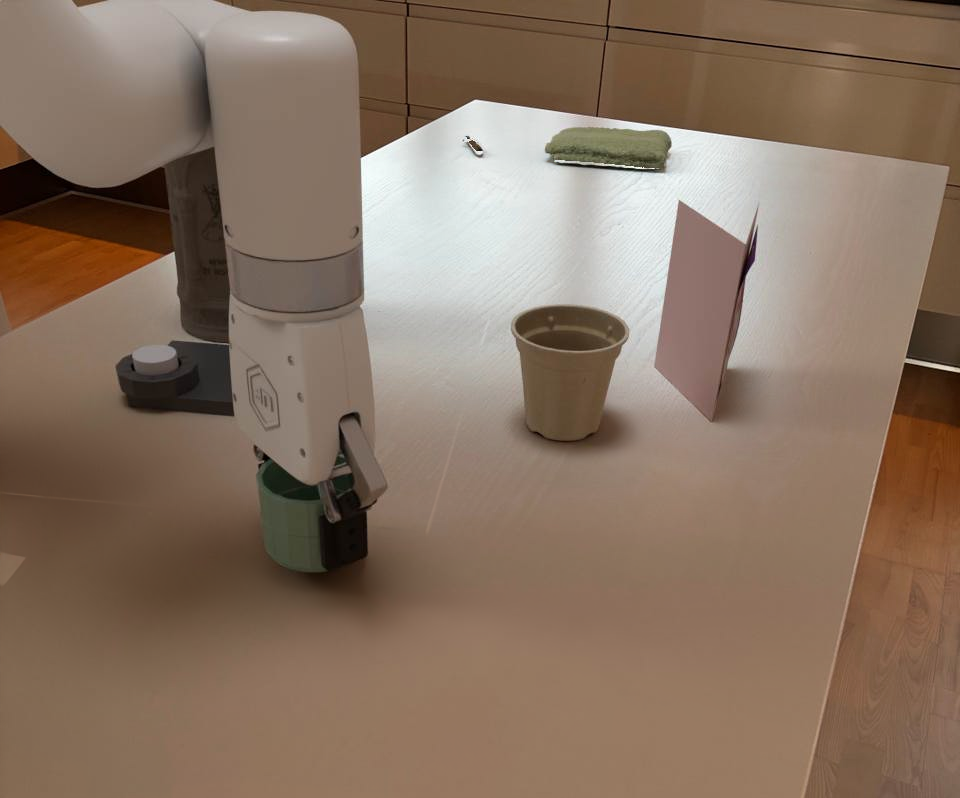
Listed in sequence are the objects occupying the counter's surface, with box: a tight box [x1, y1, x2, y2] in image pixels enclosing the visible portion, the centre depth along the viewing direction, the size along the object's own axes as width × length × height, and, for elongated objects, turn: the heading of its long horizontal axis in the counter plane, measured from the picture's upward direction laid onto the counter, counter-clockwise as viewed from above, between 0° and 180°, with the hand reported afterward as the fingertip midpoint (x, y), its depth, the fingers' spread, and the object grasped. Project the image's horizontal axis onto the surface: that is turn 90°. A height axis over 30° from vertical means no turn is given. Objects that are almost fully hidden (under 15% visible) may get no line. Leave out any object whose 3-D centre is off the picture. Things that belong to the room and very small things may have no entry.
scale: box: [115, 339, 235, 417], centre depth 89 cm, size 14×12×3 cm
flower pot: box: [510, 303, 630, 442], centre depth 84 cm, size 9×9×9 cm
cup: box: [255, 454, 351, 573], centre depth 68 cm, size 7×7×6 cm
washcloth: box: [544, 126, 673, 169], centre depth 151 cm, size 13×18×3 cm
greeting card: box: [653, 199, 760, 422], centre depth 88 cm, size 11×7×15 cm, turn 163°
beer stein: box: [163, 147, 230, 343], centre depth 96 cm, size 15×11×20 cm
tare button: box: [131, 344, 179, 376], centre depth 86 cm, size 4×4×1 cm
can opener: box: [462, 135, 484, 152], centre depth 153 cm, size 9×2×1 cm, turn 8°
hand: (314, 533), depth 69 cm, fingers closed on cup, 6 cm apart
